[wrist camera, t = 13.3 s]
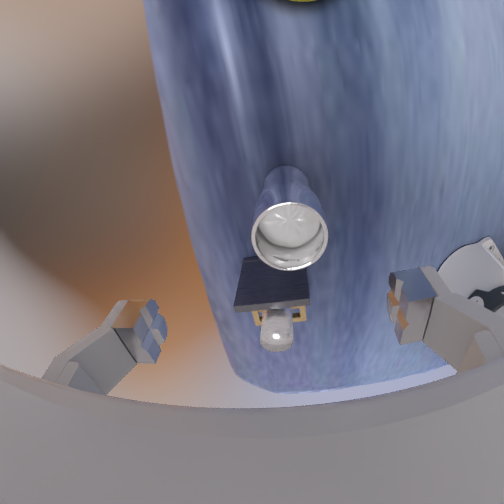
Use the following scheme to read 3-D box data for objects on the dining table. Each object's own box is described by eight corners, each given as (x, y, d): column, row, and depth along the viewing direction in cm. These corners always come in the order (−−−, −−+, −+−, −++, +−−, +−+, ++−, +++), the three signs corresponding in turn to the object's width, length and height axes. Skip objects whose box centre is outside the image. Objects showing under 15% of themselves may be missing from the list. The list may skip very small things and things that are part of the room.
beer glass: (276, 219, 39) (274, 284, 26) (250, 177, 36) (232, 224, 23) (321, 197, 37) (342, 253, 24) (296, 152, 34) (307, 184, 21)
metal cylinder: (295, 278, 42) (299, 336, 32) (284, 296, 44) (284, 355, 34) (271, 268, 42) (268, 326, 32) (260, 288, 44) (254, 346, 34)
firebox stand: (308, 298, 45) (313, 349, 36) (255, 304, 47) (249, 354, 37) (303, 250, 41) (309, 297, 32) (243, 258, 43) (233, 305, 33)
